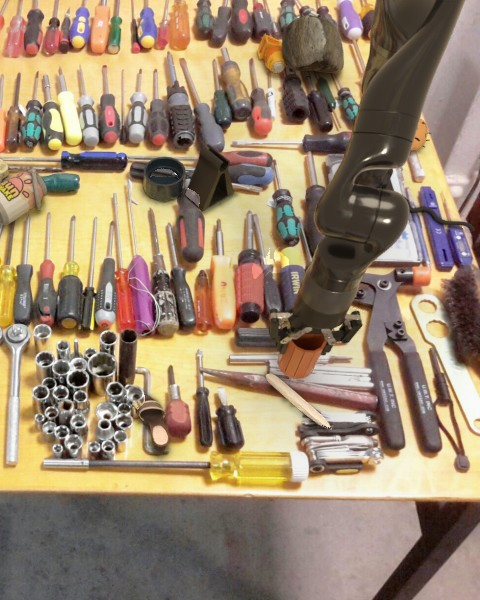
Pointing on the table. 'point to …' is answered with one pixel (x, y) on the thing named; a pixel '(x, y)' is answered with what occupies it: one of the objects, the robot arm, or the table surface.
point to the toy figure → (272, 54)
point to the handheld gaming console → (3, 170)
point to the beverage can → (20, 195)
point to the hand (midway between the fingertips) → (301, 349)
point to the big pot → (164, 179)
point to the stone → (313, 45)
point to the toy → (420, 135)
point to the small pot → (301, 355)
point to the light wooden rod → (296, 400)
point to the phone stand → (211, 178)
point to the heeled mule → (154, 422)
